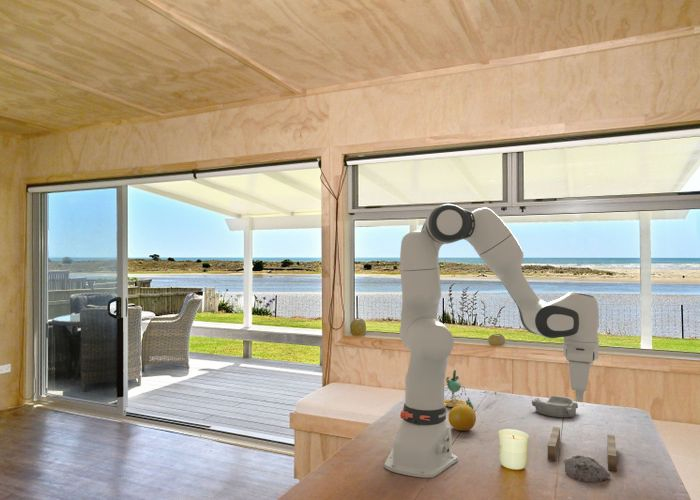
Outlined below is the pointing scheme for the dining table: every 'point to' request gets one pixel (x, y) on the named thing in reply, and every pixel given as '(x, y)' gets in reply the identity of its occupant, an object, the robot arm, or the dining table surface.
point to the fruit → (462, 417)
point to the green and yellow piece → (454, 387)
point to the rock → (585, 469)
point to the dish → (556, 406)
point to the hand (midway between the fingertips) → (579, 400)
